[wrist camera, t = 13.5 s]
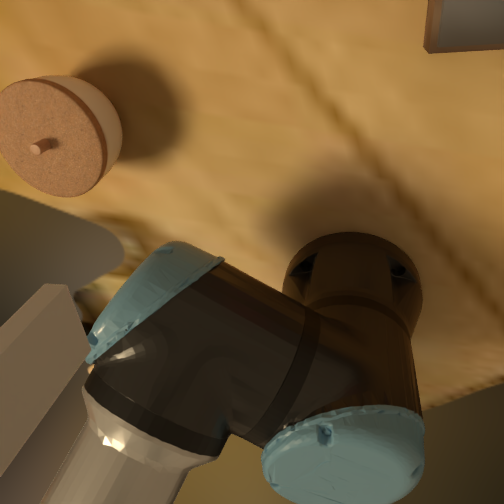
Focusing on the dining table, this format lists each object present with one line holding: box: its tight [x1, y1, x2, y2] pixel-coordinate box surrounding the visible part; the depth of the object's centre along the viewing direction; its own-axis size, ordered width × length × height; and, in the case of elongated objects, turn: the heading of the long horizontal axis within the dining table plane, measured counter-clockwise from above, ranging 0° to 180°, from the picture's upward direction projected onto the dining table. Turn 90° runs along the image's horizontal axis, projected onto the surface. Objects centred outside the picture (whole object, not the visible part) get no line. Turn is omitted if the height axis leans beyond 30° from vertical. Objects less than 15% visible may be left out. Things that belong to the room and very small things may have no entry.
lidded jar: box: [0, 75, 123, 197], centre depth 41 cm, size 11×11×9 cm
